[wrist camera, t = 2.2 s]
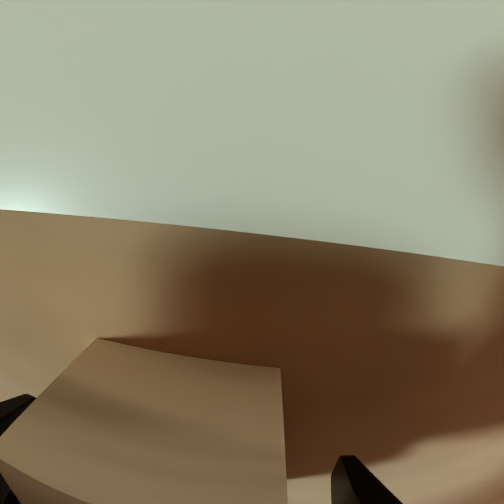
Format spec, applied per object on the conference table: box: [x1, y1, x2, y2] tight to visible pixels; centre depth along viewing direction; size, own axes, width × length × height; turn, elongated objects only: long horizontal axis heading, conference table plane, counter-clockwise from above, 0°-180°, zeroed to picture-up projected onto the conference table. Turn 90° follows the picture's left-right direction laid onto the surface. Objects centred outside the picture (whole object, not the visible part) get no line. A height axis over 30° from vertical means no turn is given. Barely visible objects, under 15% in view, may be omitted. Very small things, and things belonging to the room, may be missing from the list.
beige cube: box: [0, 338, 288, 504], centre depth 6 cm, size 5×5×5 cm
